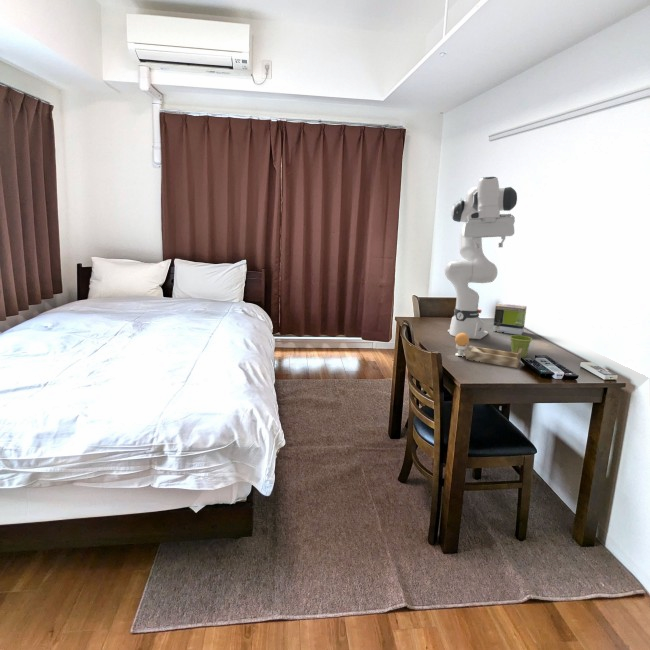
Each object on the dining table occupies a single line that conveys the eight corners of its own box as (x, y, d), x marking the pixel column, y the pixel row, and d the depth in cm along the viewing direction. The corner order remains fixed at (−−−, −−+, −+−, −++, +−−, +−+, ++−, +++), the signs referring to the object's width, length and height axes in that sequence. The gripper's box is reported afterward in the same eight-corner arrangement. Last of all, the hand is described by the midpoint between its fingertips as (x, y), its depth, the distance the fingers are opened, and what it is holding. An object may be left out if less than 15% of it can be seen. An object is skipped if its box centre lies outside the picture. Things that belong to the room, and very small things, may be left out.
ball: (458, 343, 220) (460, 330, 219) (470, 346, 216) (472, 333, 214) (451, 345, 216) (453, 332, 214) (463, 348, 212) (465, 335, 210)
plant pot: (516, 359, 215) (519, 340, 213) (503, 353, 223) (505, 335, 221) (533, 358, 217) (536, 340, 215) (520, 352, 226) (522, 334, 224)
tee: (454, 356, 216) (455, 345, 215) (456, 353, 220) (457, 343, 219) (464, 357, 214) (465, 346, 213) (466, 355, 218) (467, 344, 217)
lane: (465, 359, 212) (467, 345, 210) (469, 354, 219) (470, 340, 218) (518, 368, 203) (520, 353, 201) (520, 362, 210) (522, 348, 209)
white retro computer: (523, 331, 265) (527, 305, 262) (521, 335, 256) (525, 308, 253) (495, 327, 272) (498, 302, 268) (492, 331, 263) (495, 305, 260)
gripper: (513, 214, 205) (513, 247, 205) (463, 217, 209) (463, 249, 210) (515, 212, 199) (516, 245, 199) (464, 215, 203) (464, 248, 203)
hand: (488, 247), depth 204 cm, fingers open, 8 cm apart
